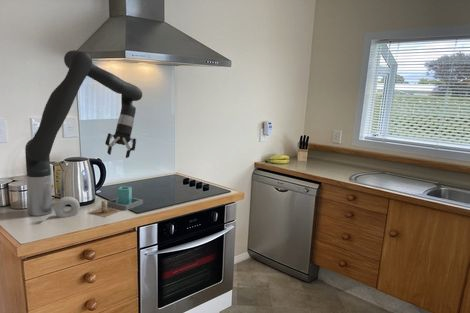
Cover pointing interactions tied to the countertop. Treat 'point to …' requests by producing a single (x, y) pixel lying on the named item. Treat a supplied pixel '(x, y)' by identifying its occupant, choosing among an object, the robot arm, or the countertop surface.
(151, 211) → the countertop surface
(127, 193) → the sleeve
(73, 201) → the donut
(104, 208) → the stake stand
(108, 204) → the grey square ring
